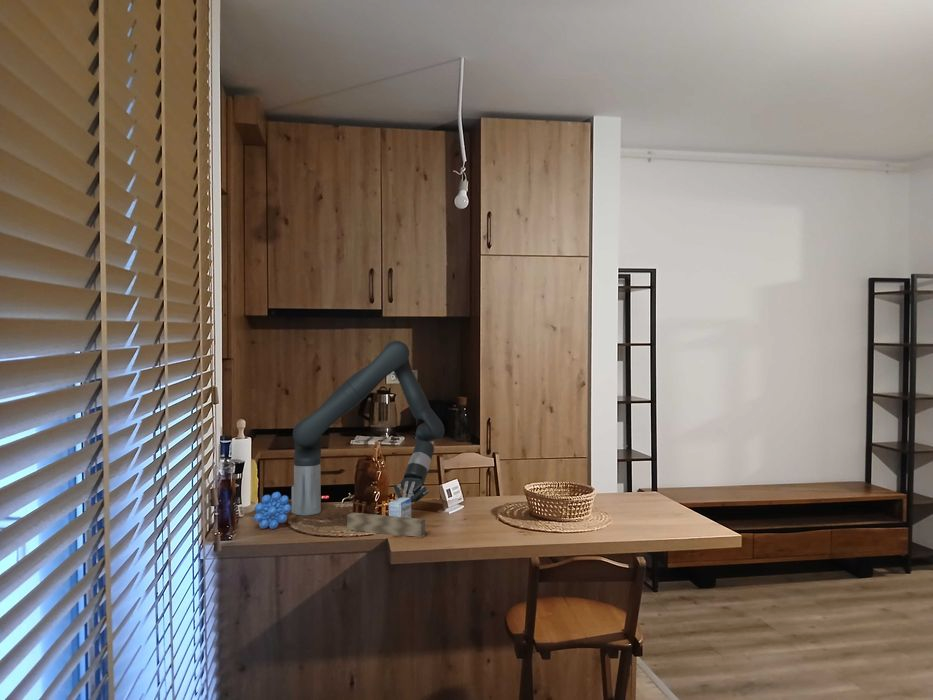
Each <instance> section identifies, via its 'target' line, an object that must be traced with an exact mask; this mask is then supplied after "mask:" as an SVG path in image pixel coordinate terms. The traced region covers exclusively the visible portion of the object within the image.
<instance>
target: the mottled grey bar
mask: <svg viewBox="0 0 933 700" xmlns="http://www.w3.org/2000/svg"><path fill="white" fill-rule="evenodd" d="M346 521H347V522H346V530H347V531H350V530H355V531H354V532H360V531H365V532H364V533H369V532H373V534H380V535H390V536H398V535H399V537H407V536H419V537H422V536H423V535H425V536H426V519H425V518H416V517H411V518H406V517H395V516H389V515H384V514H373V513H361V512H352V511H351V512H350V513H348V514H347V515H346ZM400 535H402V536H400ZM422 538H423V537H422Z"/></svg>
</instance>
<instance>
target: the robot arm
mask: <svg viewBox="0 0 933 700" xmlns="http://www.w3.org/2000/svg"><path fill="white" fill-rule="evenodd" d="M382 349H383V350H382V351H381V352H380V353H379V354H378V355H377V356H376V357H375V358H374V359H373V360H372V361H371V362H370V363H369V364H368V365H366V366H365V367H363V368H361V369H360V370H358V371H357V372H355V373H354V374H352V375H351V376H349V377H348V378H347V379H345V381H344V382H342V383H341V384H340V385H339V386H338V387H337V388H336V389H335V390H334V391H333V392H332V393H330V395H329V396H328V397H327V399H326V400H324V402H323V404H321V406H319V407H318V409H316V410H315V411H313V412H312V413H310V414H309V416H306V417H305V418H303V419H301V420H299V421H298V422H297V423H296V424H295V426H294V428H293V431H292V437H293V441H294V455H293V485H292V486H291V514H294V515H296V516H313V515H317V514H320V513H321V512H322V511H321V510H322V505H321V504H322V503H321V502H322V501H321V499H322V498H321V497H322V496H321V490H322V489H321V485H322V484H321V483H322V482H321V481H322V480H321V473H322V472H321V469H322V468H321V464H322V463H321V456H322V435H323V434H324V433H325V432H326V431H327V430H328V429H329V428H330V427H331V426H332V425H333V424H334V423H336V422H337V421H338V420H340V419H341V418H342V417H344V416H346V414H348V413H349V412H350V411H352V410H353V409H354V408H355V407H357V406H358V405H359V404H360V403H361V402H362V401H363V400H365V399H366V398H367V396H369V395H370V394H371V393H372V392H373V391H374V390H375V388H376V389H377V387H378V386H379V385H380V384H381V382H382V381H383V380H384V379H386V377H388V376H390V374H392V373H394V374H395V377H396V378H397V380H398V383H399V384H400V387H401V390H402V393H403V395H404V397H405V400H406V403H407V405H408V407H409V410H410V411H411V414H412V416H413V417H414V419H416V420H423V423H421V424H419V425H418V426H417V428H416V430H415V438H414V439H415V440H414V441H415V443H414V448H413V451H412V455H411V456H410V458H409V460H408V463H407V466H406V469H405V472H404V474H403V479H402V480H401V481H400V483H399V484H393V487H392V488H393V489H394V491H395V494H396V496H397V499H398V498H411V504H412V503H415V504H416V503H418V502H419V501H420V500H421V499H422V498H424V497H425V496H426V495H427V494H429V490H428V488H427V487H426V486H425V482H426V479H427V477H428V473H429V470H430V466H431V461H432V458H433V455H434V452H435V446H434V445H433V443H431V442H432V441H435V440H440V439H441V438H443V437H444V435H445V426H444V424H443V422H442V420H441V419H440V418H439V416H438V415H437V414H436V413H435V412H434V410H433V409H432V408H431V405H430V403H429V401H428V399H427V397H426V394H425V393H424V391H423V389H422V386H421V384H420V383H419V381H418V380H417V377H416V375H415V373H414V371H413V369H412V366H411V363H410V359H409V358H410V349H409V347H408V345H407V344H406V343H404V342H403V341H400V340H391V341H389V342H387V343H386V344H385V346H384V348H382ZM401 491H402V493H401Z"/></svg>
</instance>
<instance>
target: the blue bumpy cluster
mask: <svg viewBox="0 0 933 700" xmlns="http://www.w3.org/2000/svg"><path fill="white" fill-rule="evenodd" d="M289 500H290V499H289V496H288V495H282V494H281V493H280V491H275V492H273V493H272V494H271V495H270V494H265V495H263V496H262V497H261V502H258V503H257V504H255V506H254V511H255V512H256V513H255V515H254V516H253V521H254V522H256V523H259V527H260V528H261V529H263V530H264V529H266V528H268V527H269V529H270V530H275V529H276V528H278V526H279V524H284V523H285V522H287V520H288V515H287V514H289V513H290V512H291V511H292V505H290V503H288V502H289Z"/></svg>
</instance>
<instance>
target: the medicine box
mask: <svg viewBox="0 0 933 700" xmlns="http://www.w3.org/2000/svg"><path fill="white" fill-rule="evenodd" d="M388 516H395V517H406V518H412V503H411V498H398V497H397V499H394V500H392V501H390V502H388Z"/></svg>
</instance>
